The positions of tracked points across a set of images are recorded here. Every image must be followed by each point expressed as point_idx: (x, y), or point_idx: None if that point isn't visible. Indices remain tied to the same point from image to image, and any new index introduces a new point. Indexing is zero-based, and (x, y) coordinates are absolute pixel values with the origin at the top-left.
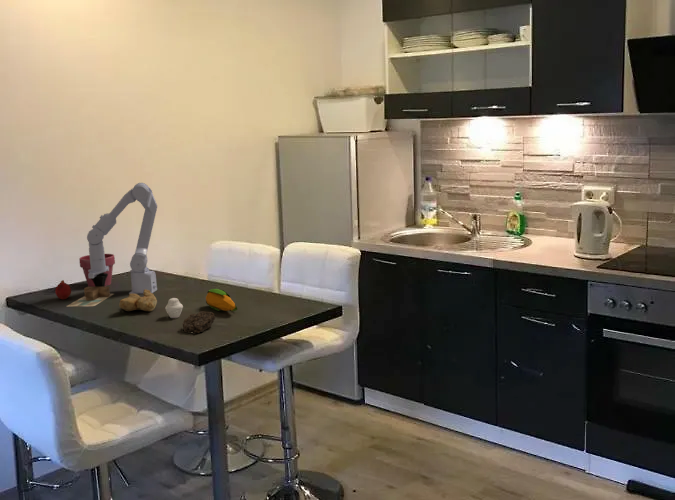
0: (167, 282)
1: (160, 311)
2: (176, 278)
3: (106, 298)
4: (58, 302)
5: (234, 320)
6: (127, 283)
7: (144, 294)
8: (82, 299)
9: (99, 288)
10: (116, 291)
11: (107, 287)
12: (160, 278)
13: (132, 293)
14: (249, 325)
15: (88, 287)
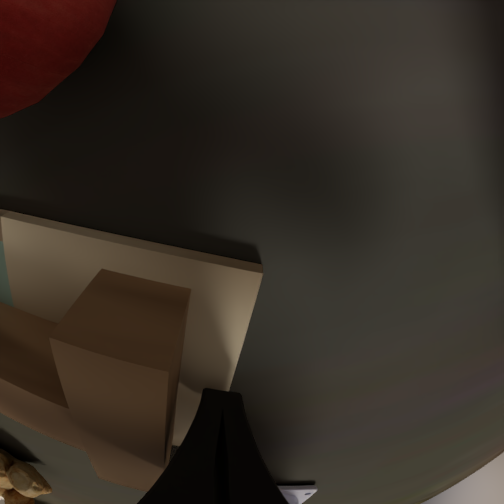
0: (395, 499)
1: None
2: (433, 491)
3: None
4: None
5: None
6: (495, 405)
7: (4, 497)
8: (16, 263)
9: (88, 453)
10: (335, 433)
11: (129, 486)
12: (472, 462)
13: (21, 493)
14: None
15: (110, 385)
